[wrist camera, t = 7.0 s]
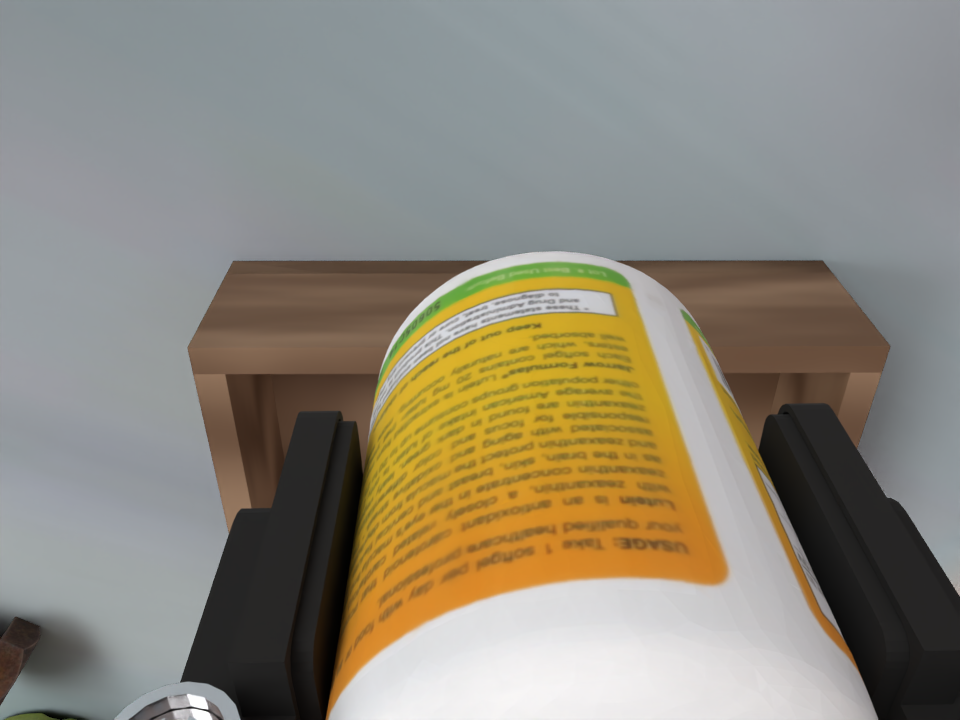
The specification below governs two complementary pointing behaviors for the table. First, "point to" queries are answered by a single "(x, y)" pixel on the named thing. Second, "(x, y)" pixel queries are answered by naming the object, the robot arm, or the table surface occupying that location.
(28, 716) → the plant pot
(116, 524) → the table surface
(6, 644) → the bolt
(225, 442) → the walled box
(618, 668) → the supplement bottle
